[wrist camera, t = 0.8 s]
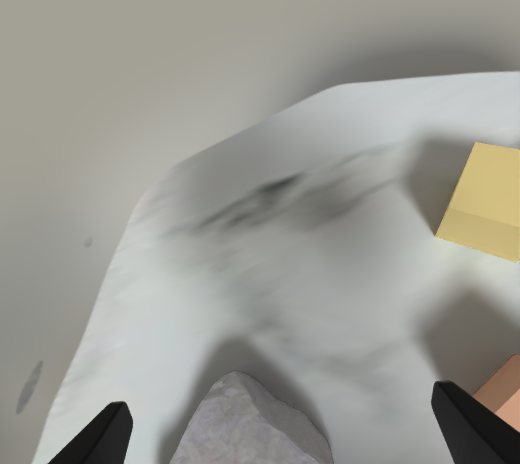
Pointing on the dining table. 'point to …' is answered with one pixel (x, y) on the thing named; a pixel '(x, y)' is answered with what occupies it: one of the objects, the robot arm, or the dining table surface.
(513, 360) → the terracotta cube
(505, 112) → the dining table surface
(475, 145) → the ochre cube
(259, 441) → the stone block
